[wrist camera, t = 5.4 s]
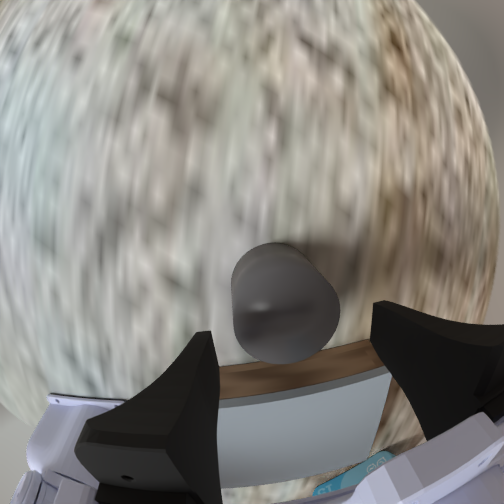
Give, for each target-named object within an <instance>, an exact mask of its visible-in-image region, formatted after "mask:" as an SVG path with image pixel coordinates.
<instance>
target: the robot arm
mask: <svg viewBox="0 0 504 504" xmlns="http://www.w3.org/2000/svg"><path fill="white" fill-rule="evenodd" d="M370 342H371V344H372V346H373V348H374V350H375V351H376V353H377V355H378V357H379V358H380V360H381V361H382V362H383V364H384V365H385V367H386V368H387V369H388V371H389V372H390V373H391V375H392V376H393V377H394V379H395V380H396V381H397V383H398V384H399V385H400V387H401V388H402V390H403V391H404V393H405V394H406V396H407V398H408V400H409V402H410V404H411V406H412V408H413V410H414V412H415V414H416V416H417V418H418V420H419V422H420V425H421V427H422V430H423V432H424V435H425V438H426V440H427V442H425V443H423V444H421V445H419V446H417V447H414V448H412V449H410V450H408V451H406V452H403V453H401V454H399V455H397V456H396V457H394V458H392V459H390V460H388V461H386V462H384V463H382V464H381V465H379V466H378V467H377V468H375V469H374V470H372V471H371V472H369V473H368V474H367V475H366V476H365V477H364V478H363V479H362V480H361V481H360V483H359V484H356V485H352V486H349V487H346V488H343V489H339V490H336V491H332V492H328V493H324V494H320V495H316V496H312V497H307V498H302V499H297V500H292V501H286V502H280V503H273V504H504V324H503V325H478V324H468V323H461V322H456V321H451V320H446V319H442V318H438V317H435V316H431V315H428V314H425V313H422V312H419V311H416V310H413V309H411V308H408V307H405V306H402V305H399V304H396V303H393V302H390V301H385V300H384V301H380V302H375V303H373V313H372V324H371V334H370ZM46 398H47V400H48V401H49V403H50V404H49V406H48V408H47V409H46V411H45V413H44V414H43V416H42V418H41V420H40V421H39V423H38V425H37V427H36V428H35V430H34V432H33V434H32V436H31V437H30V439H29V442H28V445H27V462H28V465H29V467H30V469H31V471H26V472H25V473H24V475H23V477H22V478H21V480H20V482H19V483H18V485H17V488H16V490H15V492H14V494H13V497H12V499H11V502H10V504H223V503H222V495H221V486H220V476H219V464H218V449H217V423H218V410H219V398H220V371H219V365H218V360H217V356H216V352H215V347H214V343H213V338H212V334H211V331H202V332H196V333H195V335H194V336H193V337H192V339H191V340H190V341H189V343H188V344H187V346H186V347H185V348H184V350H183V351H182V352H181V353H180V355H179V356H178V357H177V358H176V360H175V361H174V362H173V363H172V364H171V365H170V366H169V368H168V369H167V370H166V371H165V372H164V373H163V374H162V375H161V376H160V377H159V378H158V379H156V380H155V381H154V382H153V383H152V384H151V385H149V386H148V387H147V388H145V389H144V390H143V391H141V392H140V393H138V394H137V395H136V396H134V397H133V398H131V399H130V400H128V401H126V402H124V401H117V400H99V399H87V398H76V397H67V396H60V395H52V394H48V395H47V397H46ZM117 405H118V406H117Z"/></svg>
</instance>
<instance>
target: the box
mask: <svg viewBox="0 0 504 504" xmlns="http://www.w3.org/2000/svg"><path fill="white" fill-rule="evenodd" d="M382 366H385V365H384V364H383V362H382V361H381V360H380V358H379V357H378V355H377V353H376V351H375V350H374V348H373V346H372V345H371V343H370V342H369V341H368V340H364V341H360V342H356V343H352V344H348V345H344V346H339V347H335V348H331V349H326V350H322V351H318V352H317V353H315V354H314V355H312V356H311V357H309V358H306V359H304V360H302V361H299V362H295V363H290V364H271V363H266V362H263V361H261V362H254V363H247V364H240V365H232V366H223V367H219V371H220V398H219V400H222V399H232V398H240V397H248V396H255V395H262V394H269V393H275V392H281V391H286V390H291V389H297V388H302V387H306V386H311V385H316V384H320V383H324V382H329V381H333V380H337V379H341V378H344V377H348V376H352V375H355V374H359V373H363V372H366V371H369V370H373V369H376V368H379V367H382Z"/></svg>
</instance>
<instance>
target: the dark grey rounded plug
mask: <svg viewBox="0 0 504 504" xmlns="http://www.w3.org/2000/svg"><path fill="white" fill-rule="evenodd" d="M231 291H232V308H233V325H234V332H235V336H236V338H237V340H238V342H239V344H240V345H241V347H242V348H243V349H244V350H245V351H246V352H247V353H248V354H249V355H251V356H252V357H254V358H256V359H258V360H260V361H263V362H266V363H271V364H290V363H295V362H299V361H302V360H304V359H306V358H309V357H311V356H312V355H314V354H315V353H317V352H318V351H319V350H321V349H322V348H323V347H324V346H325V345H326V344H327V343H328V342H329V340H330V339H331V337H332V336H333V334H334V332H335V331H336V328H337V326H338V322H339V318H340V304H339V299H338V297H337V294H336V292H335V290H334V289H333V287H332V286H331V285H330V284H329V283H328V281H327V280H326V279H325V278H324V277H323V276H322V275H321V274H320V273H319V272H318V271H317V269H316V268H315V267H314V266H313V265H312V264H311V263H310V262H309V261H308V260H307V259H306V258H305V257H304V256H303V255H302V254H301V253H300V252H299V251H298V250H296V249H295V248H293V247H291V246H289V245H286V244H281V243H267V244H263V245H260V246H257V247H255V248H253V249H251V250H250V251H248V252H247V253H246V254H245V255H243V256H242V258H241V259H240V260H239V261H238V263H237V264H236V266H235V268H234V271H233V274H232V278H231Z"/></svg>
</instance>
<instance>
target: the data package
mask: <svg viewBox="0 0 504 504" xmlns="http://www.w3.org/2000/svg"><path fill="white" fill-rule="evenodd" d="M394 457H396V456H395V455H394V454H392V453H391V452H389V451H380V452H378V453H376V454H375V455H373V456H372V457H370V458H368V459H367V460H365V461H363V462H362V463H360V464H358V465H357V466H355V467H353V468H351V469H350V470H348V471H346V472H344V473H342V474H341V475H339V476H337V477H335V478H333V479H331V480H329V481H327V482H325V483H323V484H321V485H319V486H318V487H317V488H316V489H315V490H314V492H313V496H316V495H320V494H324V493H328V492H332V491H336V490H339V489H343V488H346V487H349V486H352V485H356V484H359V483H360V481H361V480H362V479H363V478H364V477H365V476H366V475H367V474H368V473H369V472H371V471H372V470H374V469H375V468H377V467H378V466H379V465H381V464H382V463H384V462H386V461H388V460H390V459H392V458H394Z"/></svg>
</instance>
